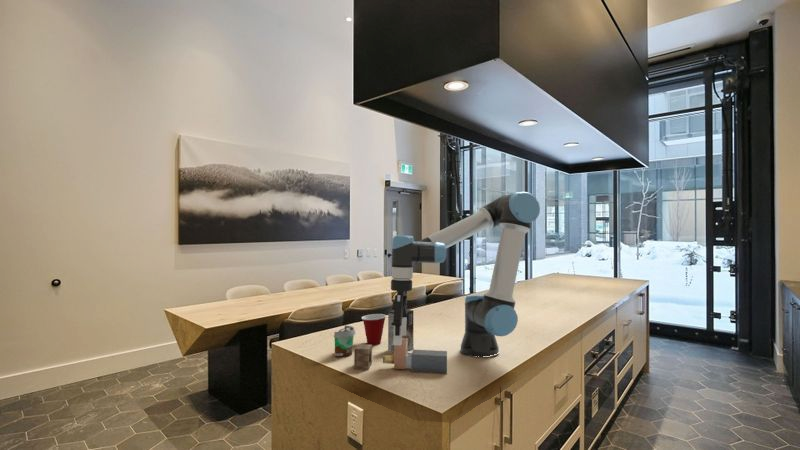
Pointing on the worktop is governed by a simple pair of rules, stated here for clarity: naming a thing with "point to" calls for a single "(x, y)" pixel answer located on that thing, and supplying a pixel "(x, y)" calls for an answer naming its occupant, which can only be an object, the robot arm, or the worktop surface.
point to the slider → (399, 356)
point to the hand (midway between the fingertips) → (400, 340)
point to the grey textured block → (363, 356)
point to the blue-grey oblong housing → (429, 361)
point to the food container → (344, 342)
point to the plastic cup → (374, 328)
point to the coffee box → (408, 330)
